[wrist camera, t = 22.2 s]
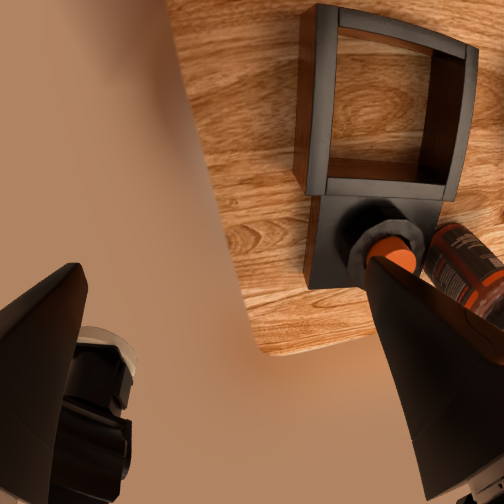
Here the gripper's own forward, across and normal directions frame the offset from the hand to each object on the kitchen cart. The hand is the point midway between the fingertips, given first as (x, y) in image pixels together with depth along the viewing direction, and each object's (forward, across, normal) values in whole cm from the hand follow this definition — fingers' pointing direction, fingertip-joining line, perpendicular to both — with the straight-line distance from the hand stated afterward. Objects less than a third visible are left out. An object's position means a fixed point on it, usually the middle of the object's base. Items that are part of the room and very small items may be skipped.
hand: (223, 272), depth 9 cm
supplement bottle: (+13, -20, +8) cm, 25 cm away
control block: (+13, -11, +6) cm, 18 cm away
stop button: (+9, -11, +6) cm, 16 cm away
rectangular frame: (+13, -10, -4) cm, 17 cm away
